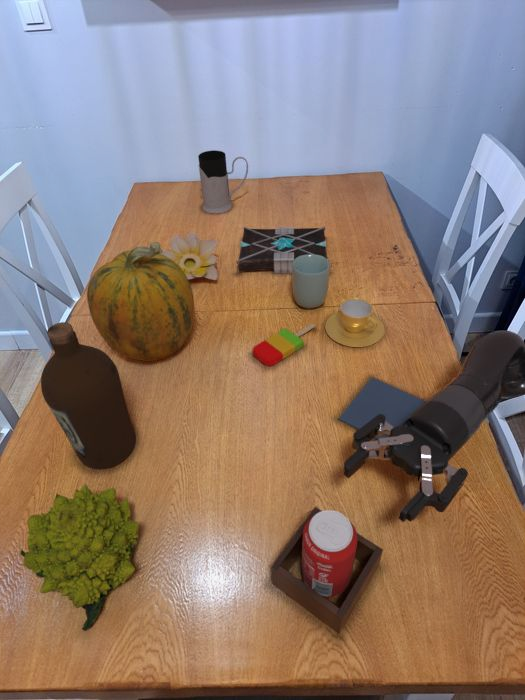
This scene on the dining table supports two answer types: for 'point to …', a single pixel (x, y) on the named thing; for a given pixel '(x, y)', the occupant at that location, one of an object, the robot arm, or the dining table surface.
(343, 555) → the beverage can
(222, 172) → the glass holder
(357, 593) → the can holder
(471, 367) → the robot arm
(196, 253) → the decorative flower
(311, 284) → the cup
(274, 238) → the book
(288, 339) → the popsicle
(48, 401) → the olive oil
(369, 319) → the cup
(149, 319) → the pumpkin
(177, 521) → the dining table surface
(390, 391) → the mat
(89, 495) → the vegetable
